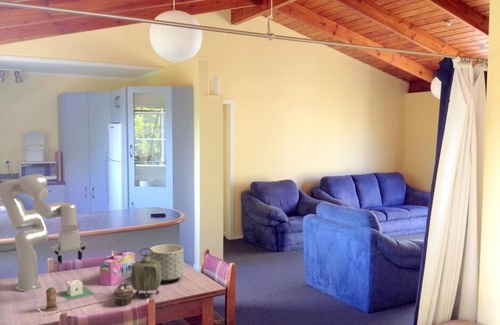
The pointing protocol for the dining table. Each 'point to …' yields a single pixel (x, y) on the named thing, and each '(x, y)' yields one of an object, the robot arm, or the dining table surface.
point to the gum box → (116, 268)
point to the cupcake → (123, 295)
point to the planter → (169, 260)
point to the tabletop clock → (146, 274)
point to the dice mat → (85, 293)
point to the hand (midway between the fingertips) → (70, 261)
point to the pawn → (51, 299)
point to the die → (74, 288)
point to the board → (77, 307)
